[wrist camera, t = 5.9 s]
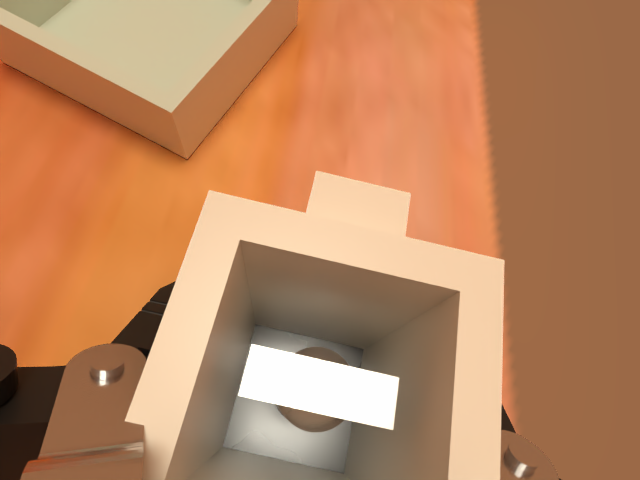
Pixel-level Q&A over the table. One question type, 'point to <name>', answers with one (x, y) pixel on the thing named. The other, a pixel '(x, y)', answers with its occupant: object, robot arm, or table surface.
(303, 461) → the stake stand
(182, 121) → the tray
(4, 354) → the robot arm
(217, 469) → the cream open box
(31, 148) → the table surface
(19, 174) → the table surface
